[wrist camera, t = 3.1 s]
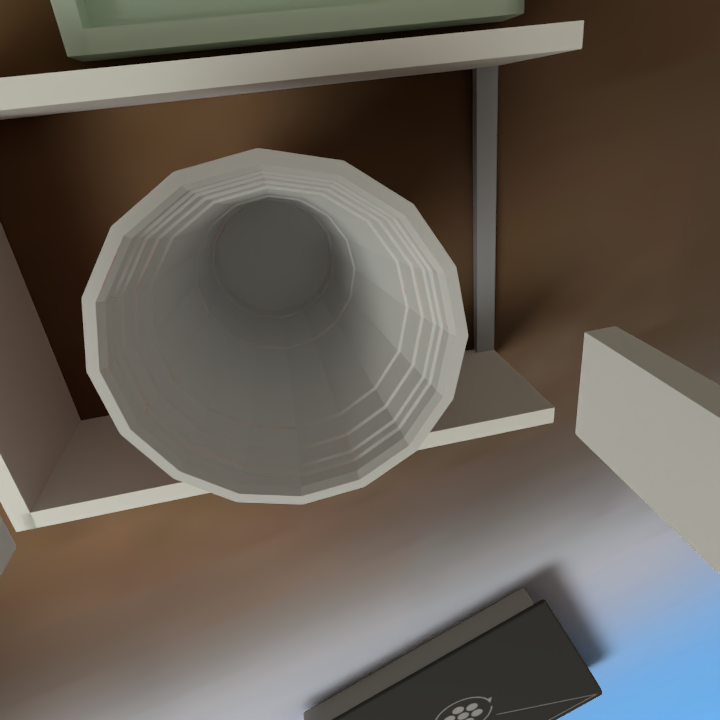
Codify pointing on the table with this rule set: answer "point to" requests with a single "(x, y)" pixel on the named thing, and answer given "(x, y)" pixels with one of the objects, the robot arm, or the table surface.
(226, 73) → the frame
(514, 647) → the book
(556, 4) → the table surface
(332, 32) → the tray
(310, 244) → the plastic cup
